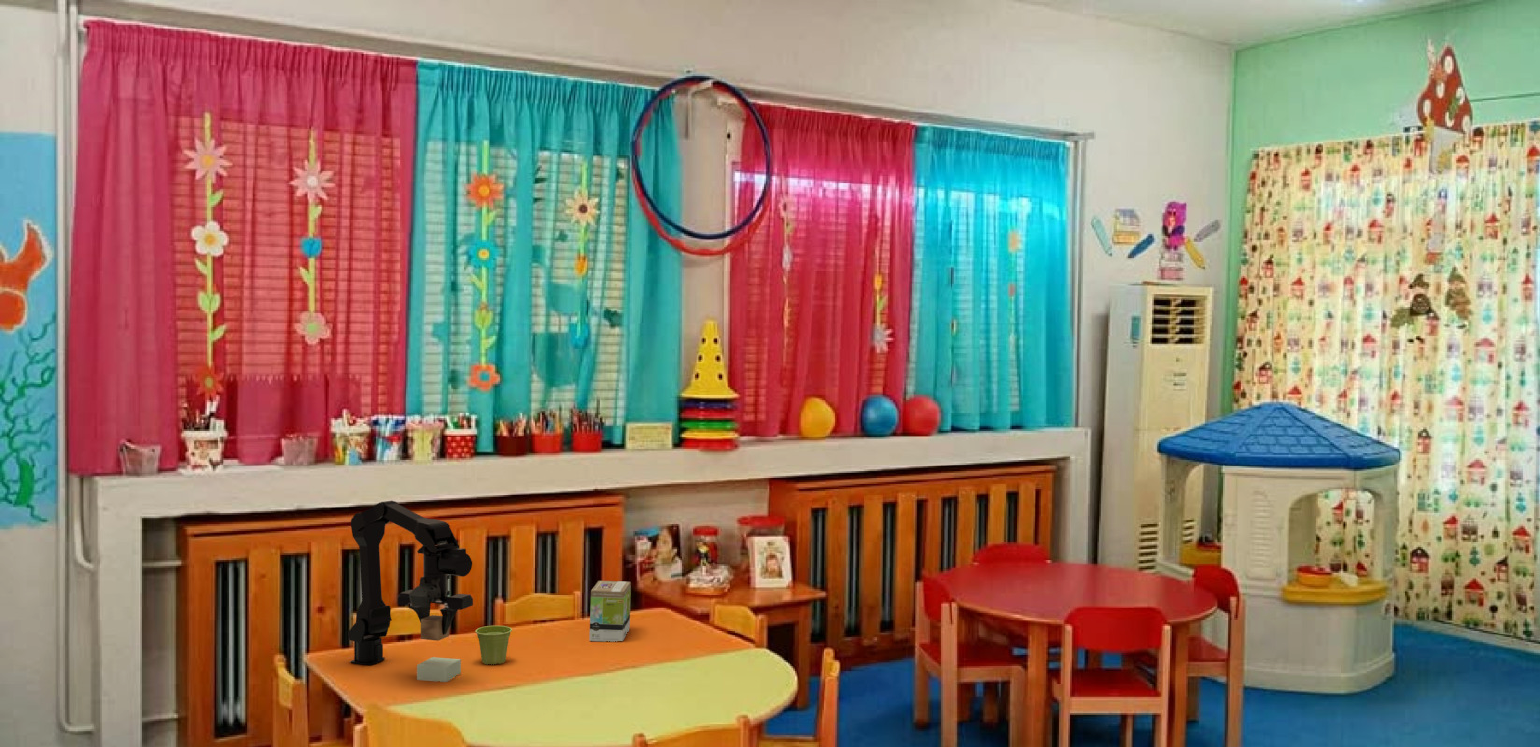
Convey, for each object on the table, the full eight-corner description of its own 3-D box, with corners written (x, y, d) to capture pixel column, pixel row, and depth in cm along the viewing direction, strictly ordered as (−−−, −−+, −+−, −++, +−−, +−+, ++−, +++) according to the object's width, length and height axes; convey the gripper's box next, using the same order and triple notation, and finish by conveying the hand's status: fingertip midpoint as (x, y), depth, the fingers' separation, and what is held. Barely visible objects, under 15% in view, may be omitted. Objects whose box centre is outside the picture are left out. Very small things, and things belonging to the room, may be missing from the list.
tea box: (624, 642, 362) (624, 590, 361) (588, 642, 362) (589, 590, 361) (630, 630, 377) (631, 580, 376) (596, 629, 377) (597, 579, 376)
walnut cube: (420, 639, 322) (420, 619, 321) (432, 634, 326) (431, 615, 326) (438, 640, 320) (438, 621, 320) (449, 636, 325) (449, 616, 325)
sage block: (416, 681, 321) (416, 665, 321) (432, 672, 329) (432, 657, 329) (446, 683, 320) (446, 667, 319) (460, 674, 327) (460, 659, 327)
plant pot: (503, 668, 333) (503, 635, 333) (469, 665, 335) (469, 632, 335) (517, 659, 343) (517, 626, 342) (484, 656, 344) (484, 624, 344)
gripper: (384, 575, 318) (384, 637, 319) (449, 580, 312) (449, 644, 313) (410, 567, 329) (410, 627, 329) (474, 572, 323) (474, 633, 323)
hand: (435, 633), depth 323 cm, fingers closed on walnut cube, 5 cm apart
